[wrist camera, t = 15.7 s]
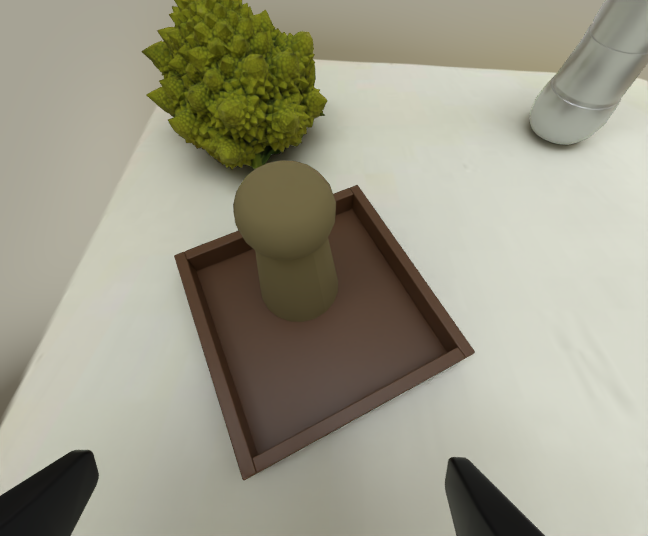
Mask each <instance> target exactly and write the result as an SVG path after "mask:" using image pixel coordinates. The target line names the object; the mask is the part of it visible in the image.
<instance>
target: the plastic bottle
mask: <svg viewBox="0 0 648 536" xmlns="http://www.w3.org/2000/svg"><path fill="white" fill-rule="evenodd" d="M647 64H648V0H605V1H604V3H603V4H602V6H601V8H600V10H599V11H598V13H597V15H596V16H595V18H594V20H593V23H592V24H591V25H590V27H589V28H588V30H587V32H586V33H585V35H584V37H583V39H582V40H581V41H580V43H579V44H578V45H577V47H576V48H575V49H574V51H573V52H572V54H571V55H570V56H569V58H568V59H567V60H566V62H565V63H564V64H563V66H562V67H561V68H560V70H559V71H558V73H557V74H556V75H555V76H554V77H553V78H552V79H551V80H550V81H549V82H548V83H547V85H546V86H545V87H544V88H543V90H542V91H541V92H540V93H539V95H538V96H537V97H536V99H535V102H534V104H533V106H532V109H531V111H530V116H529V117H530V125H531V128H532V130H533V131H534V132H535V133H536V134H537V135H538V136H540V137H541V138H543V139H545V140H547V141H549V142H552V143H556V144H564V145H566V144H574V143H577V142H580V141H582V140H585V139H588V138H589V137H590V136H592V135H593V134H594V133H595V132H596V131H598V130H599V129H600V128H601V127H602V126H604V124H605V123H606V122H607V120H608V119H609V118H610V116H611V115H612V113H613V112H614V111H615V109H616V107H617V106H618V104H619V102H620V100H621V98H622V97H623V95H624V94H625V93H626V91H627V90H628V89H629V87H630V86H631V85H632V83H633V82H634V81H635V79H636V78H637V77H638V75H639V74H640V73H641V71H642V70H643V69H644V68H645V66H646V65H647Z"/></svg>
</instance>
